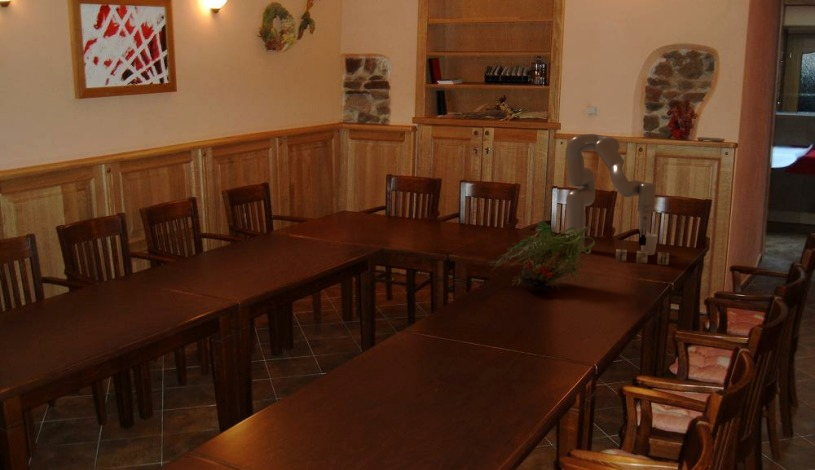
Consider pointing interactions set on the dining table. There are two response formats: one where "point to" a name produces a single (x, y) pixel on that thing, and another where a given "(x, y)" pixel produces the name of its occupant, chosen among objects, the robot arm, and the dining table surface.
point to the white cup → (650, 244)
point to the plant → (549, 256)
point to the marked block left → (621, 255)
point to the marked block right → (663, 258)
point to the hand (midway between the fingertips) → (642, 244)
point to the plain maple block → (642, 256)
